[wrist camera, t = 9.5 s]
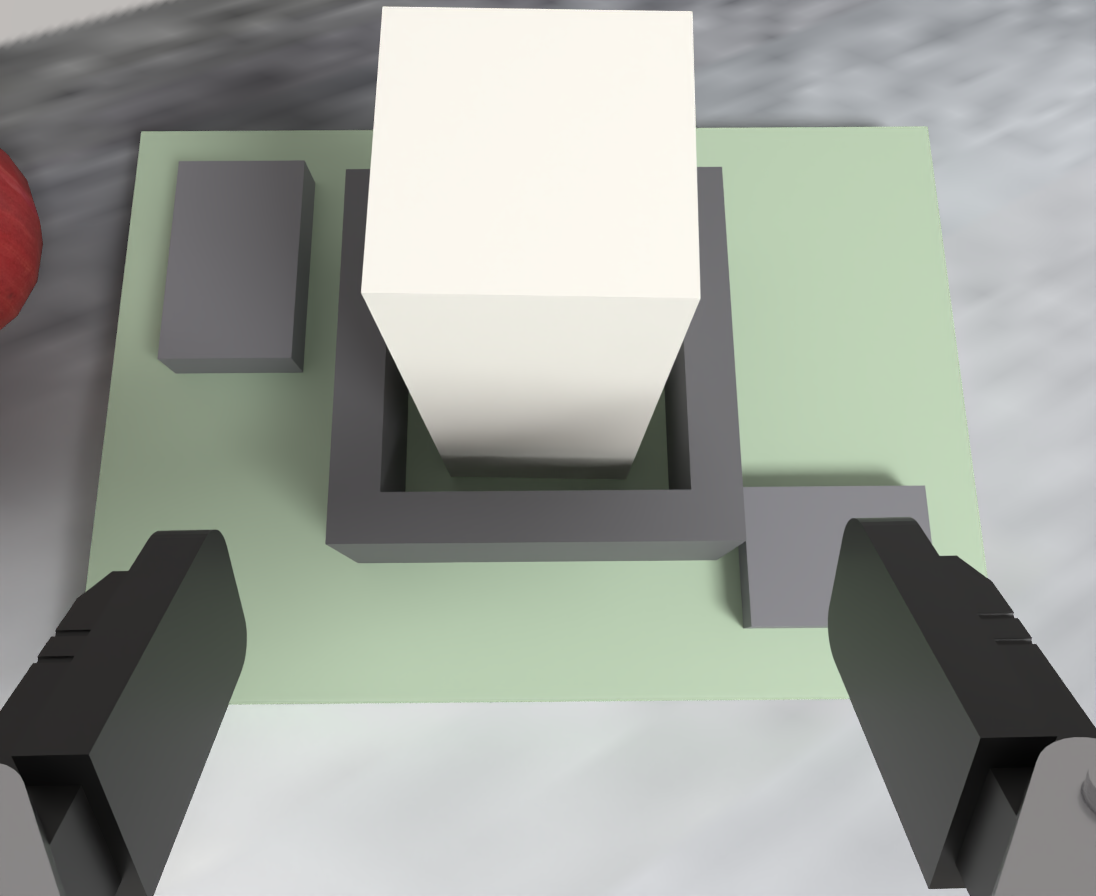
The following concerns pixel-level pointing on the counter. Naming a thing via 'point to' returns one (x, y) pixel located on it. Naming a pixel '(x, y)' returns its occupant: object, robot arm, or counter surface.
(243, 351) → the board
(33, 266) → the onion
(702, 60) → the counter surface
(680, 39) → the plug
